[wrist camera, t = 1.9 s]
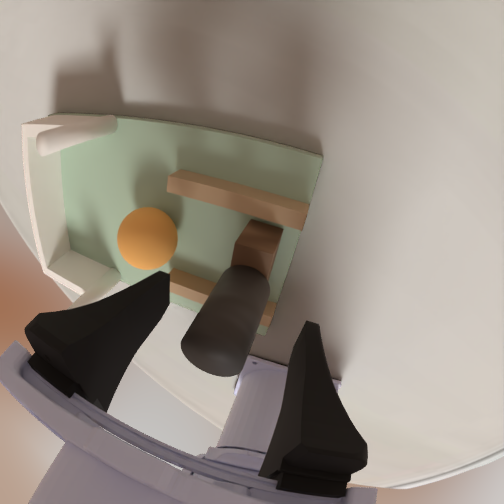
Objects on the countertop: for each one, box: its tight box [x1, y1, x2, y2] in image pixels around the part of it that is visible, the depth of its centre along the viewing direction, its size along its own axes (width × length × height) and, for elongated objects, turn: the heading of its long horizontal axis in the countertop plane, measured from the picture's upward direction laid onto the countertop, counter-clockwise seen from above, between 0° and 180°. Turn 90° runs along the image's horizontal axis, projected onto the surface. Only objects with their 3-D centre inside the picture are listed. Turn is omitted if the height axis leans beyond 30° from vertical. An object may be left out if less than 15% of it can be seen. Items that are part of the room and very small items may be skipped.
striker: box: [181, 219, 284, 377], centre depth 14 cm, size 3×5×8 cm, turn 169°
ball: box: [117, 207, 178, 270], centre depth 17 cm, size 4×4×4 cm
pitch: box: [22, 113, 323, 336], centre depth 17 cm, size 22×14×7 cm, turn 79°
